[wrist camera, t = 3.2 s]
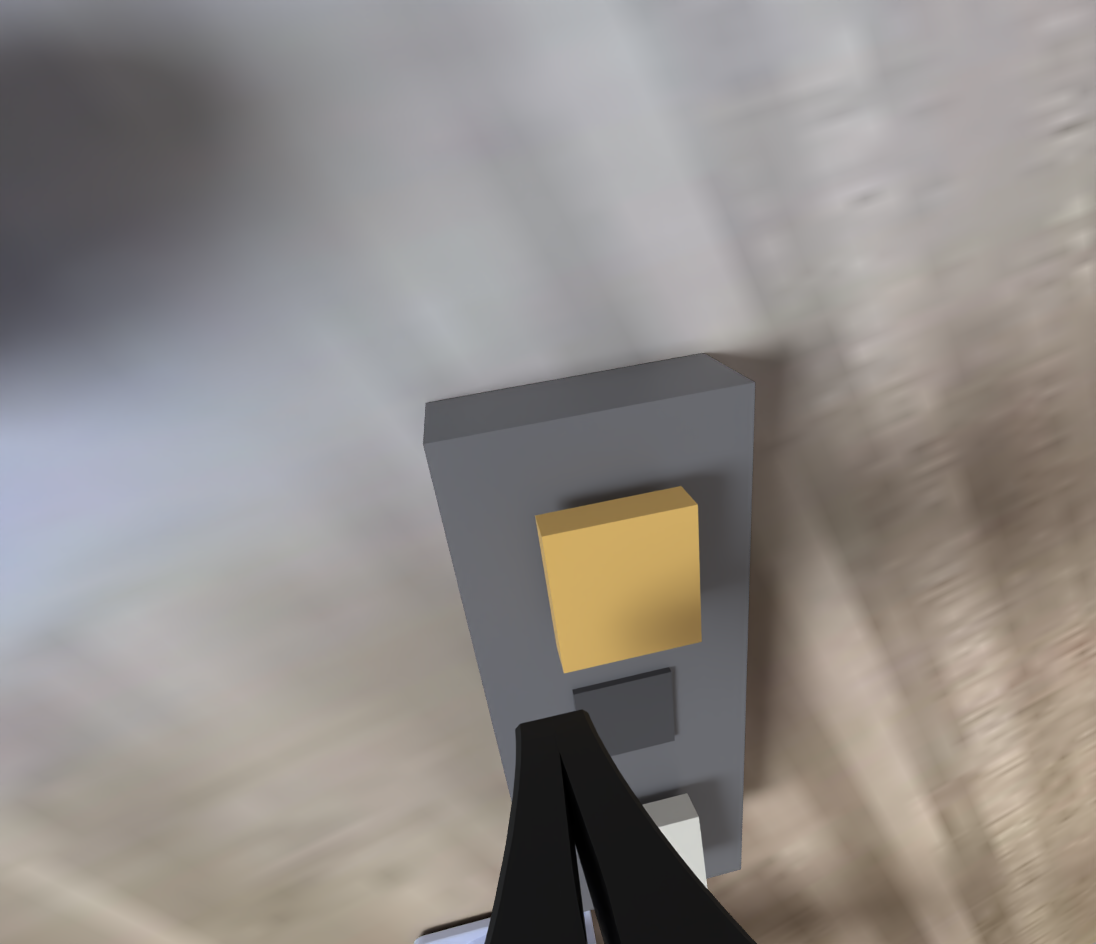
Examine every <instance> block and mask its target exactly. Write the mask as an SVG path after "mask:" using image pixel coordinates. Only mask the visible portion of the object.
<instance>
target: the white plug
mask: <svg viewBox="0 0 1096 944" xmlns="http://www.w3.org/2000/svg"><path fill="white" fill-rule="evenodd" d="M643 807H644V808H645V810H646V811H647V812H648V814H649V815H650V817H651V818H652V819H653V821H654V822H655V824H656V825H657V826H658V828H659V829H660V830H661V832H662V833H663V834H664V836H665V837H666V838H667V839H668V841H669V842H670V843H671V845H672V846H673V847H674V849H675V850H676V851H677V852H678V854H679V855H680V856H681V858H682V859H683V860H684V861H685V862H686V864H687V865H688V866H689V867H690V869H691V870H692V871H693V872H694V874H695V875H696V876H697V877H698V878H699V880H700V881H701V882H702V883H703V884H704V885H705V887H706V888H707V880H706V872H705V864H704V856H703V847H702V839H701V831H700V823H699V816H698V814H697V812H696V810H695V808H694V806H693V804H692V802H691V800H690V798H689V796H688V794H687V793H686V794H682V795H678V796H674V797H670V798H667V799H663V800H659V801H655V802H651V803H647V804H643Z"/></svg>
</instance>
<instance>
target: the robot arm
mask: <svg viewBox="0 0 1096 944" xmlns="http://www.w3.org/2000/svg"><path fill="white" fill-rule="evenodd" d="M515 736H516V763H515V778H514V788H513V798H512V805H511V812H510V819H509V826H508V833H507V840H506V846H505V851H504V857H503V862H502V867H501V872H500V877H499V882H498V887H497V892H496V897H495V901H494V906H493V910H492V914H491V917H490V918H487V919H483V920H479V921H475V922H472V923H468V924H464V925H460V926H457V927H453V928H449V929H446V930H442V931H438V932H434V933H431V934H427V935H423V936H421V937H419V938H417V939H416V940H415V942H414V944H596V939H595V933H594V928H593V922H592V916H591V911H590V910H589V911H586V912H584V910H583V902H582V895H581V887H580V879H579V871H578V863H577V855H576V849H577V852H578V856H579V859H580V863H581V866H582V869H583V873H584V876H585V880H586V883H587V886H588V890H589V893H590V897H591V900H592V903H593V907H594V910H595V913H596V917H597V920H598V923H599V927H600V930H601V934H602V937H603V940H604V944H757V943H756V942H755V941H754V940H753V939H752V938H751V937H750V936H749V935H748V934H747V933H746V932H745V930H744V929H743V928H742V927H741V926H740V925H739V924H738V923H737V922H736V921H735V919H734V918H733V917H732V916H731V915H730V914H729V913H728V912H727V911H726V910H725V909H724V907H723V906H722V905H721V904H720V903H719V902H718V900H717V899H716V898H715V897H714V896H713V895H712V894H711V892H710V891H709V890H708V889H707V888H706V887H705V885H704V884H703V883H702V882H701V881H700V880H699V878H698V877H697V876H696V875H695V874H694V872H693V871H692V870H691V869H690V867H689V866H688V865H687V864H686V862H685V861H684V860H683V859H682V858H681V856H680V855H679V854H678V852H677V851H676V850H675V849H674V847H673V846H672V845H671V843H670V842H669V841H668V839H667V838H666V837H665V836H664V834H663V833H662V832H661V830H660V829H659V828H658V826H657V825H656V824H655V822H654V821H653V819H652V818H651V817H650V815H649V814H648V812H647V811H646V810H645V808H644V807H643V805H642V804H641V802H640V801H639V799H638V798H637V797H636V795H635V794H634V792H633V791H632V789H631V788H630V786H629V785H628V783H627V782H626V780H625V779H624V777H623V776H622V774H621V773H620V771H619V769H618V768H617V766H616V764H615V763H614V761H613V759H612V758H611V756H610V755H609V753H608V751H607V749H606V748H605V746H604V744H603V742H602V740H601V739H600V737H599V735H598V733H597V731H596V729H595V727H594V725H593V723H592V720H591V718H590V716H589V713H588V712H586V711H585V710H583V709H581V710H577V711H572V712H568V713H564V714H559V715H555V716H551V717H547V718H542V719H538V720H534V721H529V722H525V723H521V724H519V725H518V727H517V728H516V729H515ZM575 846H576V848H575Z"/></svg>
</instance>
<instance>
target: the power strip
mask: <svg viewBox="0 0 1096 944" xmlns="http://www.w3.org/2000/svg"><path fill="white" fill-rule="evenodd" d="M754 407H755V382H754V381H752V380H750V379H749V378H747V377H745V376H743V375H742V374H740V373H738V372H736V371H735V370H733V369H731V368H729V367H727V366H726V365H724V364H722V363H720V362H719V361H717V360H715V359H713V358H712V357H710V356H708V355H706V354H705V353H702V354H696V355H691V356H685V357H680V358H674V359H668V360H663V361H657V362H652V363H646V364H641V365H635V366H629V367H624V368H618V369H613V370H607V371H602V372H596V373H591V374H585V375H579V376H574V377H568V378H563V379H557V380H552V381H546V382H541V383H535V384H529V385H524V386H518V387H513V388H507V389H502V390H496V391H490V392H485V393H479V394H474V395H468V396H463V397H457V398H452V399H446V400H440V401H435V402H429V403H426V407H425V423H424V438H423V446H424V450H425V454H426V458H427V462H428V466H429V470H430V474H431V478H432V482H433V486H434V490H435V494H436V498H437V502H438V506H439V510H440V514H441V518H442V522H443V526H444V530H445V535H446V539H447V543H448V547H449V551H450V555H451V559H452V563H453V567H454V571H455V575H456V579H457V583H458V587H459V591H460V595H461V599H462V603H463V607H464V611H465V615H466V619H467V623H468V627H469V631H470V635H471V639H472V643H473V647H474V651H475V656H476V660H477V664H478V668H479V672H480V676H481V680H482V684H483V688H484V692H485V696H486V700H487V704H488V708H489V712H490V716H491V720H492V724H493V728H494V732H495V736H496V740H497V744H498V748H499V752H500V756H501V760H502V764H503V768H504V773H505V777H506V781H507V785H508V789H509V793H510V797H511V801H512V798H513V788H514V778H515V763H516V736H515V729H516V728H517V727H518V725H519V724H521V723H525V722H529V721H534V720H538V719H542V718H547V717H551V716H555V715H559V714H564V713H568V712H572V711H577V710H581V709H583V710H585V711H586V712H588V713H589V716H590V718H591V720H592V723H593V725H594V727H595V729H596V731H597V733H598V735H599V737H600V739H601V740H602V742H603V744H604V746H605V748H606V749H607V751H608V753H609V755H610V756H611V758H612V759H613V761H614V763H615V764H616V766H617V768H618V769H619V771H620V773H621V774H622V776H623V777H624V779H625V780H626V782H627V783H628V785H629V786H630V788H631V789H632V791H633V792H634V794H635V795H636V797H637V798H638V799H639V801H640V802H641V804H642V805H643V804H647V803H651V802H655V801H659V800H663V799H667V798H670V797H674V796H678V795H682V794H686V793H687V794H688V796H689V798H690V800H691V802H692V804H693V806H694V808H695V810H696V812H697V814H698V816H699V823H700V831H701V839H702V847H703V856H704V864H705V872H706V879H707V878H711V877H714V876H718V875H722V874H725V873H729V872H733V871H736V870H740V869H741V851H742V817H743V783H744V749H745V715H746V681H747V646H748V612H749V578H750V544H751V510H752V476H753V441H754ZM679 486H682V487H683V488H684V490H685V491H686V492H687V493H688V494H689V495H690V496H691V497H692V499H693V500H694V501H695V502H696V503H697V504H698V527H699V563H700V599H701V634H702V642H699V643H694V644H690V645H686V646H681V647H677V648H673V649H668V650H664V651H660V652H655V653H651V654H647V655H642V656H638V657H634V658H629V659H625V660H621V661H616V662H612V663H608V664H603V665H599V666H595V667H590V668H586V669H582V670H577V671H573V672H568V673H564V672H563V668H562V664H561V661H560V657H559V653H558V650H557V645H556V639H555V633H554V627H553V621H552V615H551V609H550V603H549V597H548V591H547V585H546V579H545V573H544V567H543V561H542V555H541V549H540V543H539V537H538V531H537V525H536V519H535V515H540V514H545V513H550V512H555V511H560V510H565V509H570V508H575V507H580V506H585V505H590V504H595V503H599V502H604V501H609V500H614V499H619V498H624V497H629V496H634V495H639V494H644V493H649V492H654V491H659V490H664V489H669V488H674V487H679ZM575 848H576V846H575ZM576 855H577V863H578V871H579V879H580V887H581V895H582V902H583V910H584V912H586V911H589V910H593V909H594V907H593V903H592V900H591V897H590V893H589V890H588V886H587V883H586V880H585V876H584V873H583V869H582V866H581V863H580V859H579V856H578V852H577V849H576Z"/></svg>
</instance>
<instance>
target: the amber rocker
mask: <svg viewBox="0 0 1096 944" xmlns="http://www.w3.org/2000/svg"><path fill="white" fill-rule="evenodd" d="M535 519H536V525H537V531H538V537H539V543H540V549H541V555H542V561H543V567H544V573H545V579H546V585H547V591H548V597H549V603H550V609H551V615H552V621H553V627H554V633H555V639H556V645H557V650H558V653H559V657H560V661H561V664H562V668H563V672H564V673H568V672H573V671H577V670H582V669H586V668H590V667H595V666H599V665H603V664H608V663H612V662H616V661H621V660H625V659H629V658H634V657H638V656H642V655H647V654H651V653H655V652H660V651H664V650H668V649H673V648H677V647H681V646H686V645H690V644H694V643H699V642H702V634H701V599H700V563H699V527H698V504H697V503H696V502H695V501H694V500H693V499H692V497H691V496H690V495H689V494H688V493H687V492H686V491H685V490H684V488H683V487H682V486H679V487H674V488H669V489H664V490H659V491H654V492H649V493H644V494H639V495H634V496H629V497H624V498H619V499H614V500H609V501H604V502H599V503H595V504H590V505H585V506H580V507H575V508H570V509H565V510H560V511H555V512H550V513H545V514H540V515H535Z"/></svg>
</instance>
